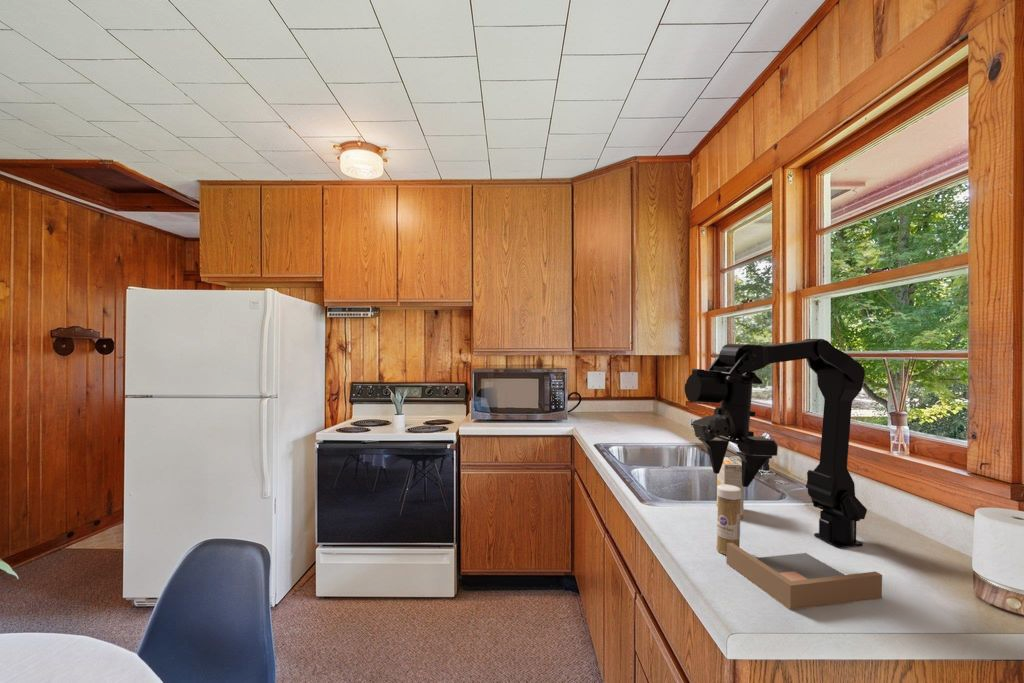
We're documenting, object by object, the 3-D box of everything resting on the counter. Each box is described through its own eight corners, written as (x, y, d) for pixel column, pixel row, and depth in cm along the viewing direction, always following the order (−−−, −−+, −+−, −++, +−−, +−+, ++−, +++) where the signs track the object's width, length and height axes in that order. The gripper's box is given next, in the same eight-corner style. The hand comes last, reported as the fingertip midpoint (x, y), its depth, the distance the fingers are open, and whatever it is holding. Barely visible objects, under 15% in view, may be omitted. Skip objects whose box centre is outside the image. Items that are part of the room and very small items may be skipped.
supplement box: (744, 518, 117) (745, 465, 117) (723, 517, 118) (724, 464, 118) (735, 506, 125) (736, 457, 125) (716, 505, 126) (716, 455, 126)
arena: (805, 555, 98) (805, 535, 98) (881, 598, 82) (882, 574, 82) (726, 563, 94) (726, 543, 94) (790, 609, 78) (790, 585, 78)
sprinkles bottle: (713, 552, 99) (714, 487, 99) (720, 544, 102) (721, 482, 102) (737, 558, 96) (737, 492, 96) (743, 551, 99) (744, 486, 99)
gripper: (675, 396, 106) (670, 466, 106) (730, 409, 88) (724, 494, 88) (720, 399, 109) (715, 467, 109) (782, 412, 90) (776, 494, 90)
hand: (730, 479), depth 99 cm, fingers open, 9 cm apart
